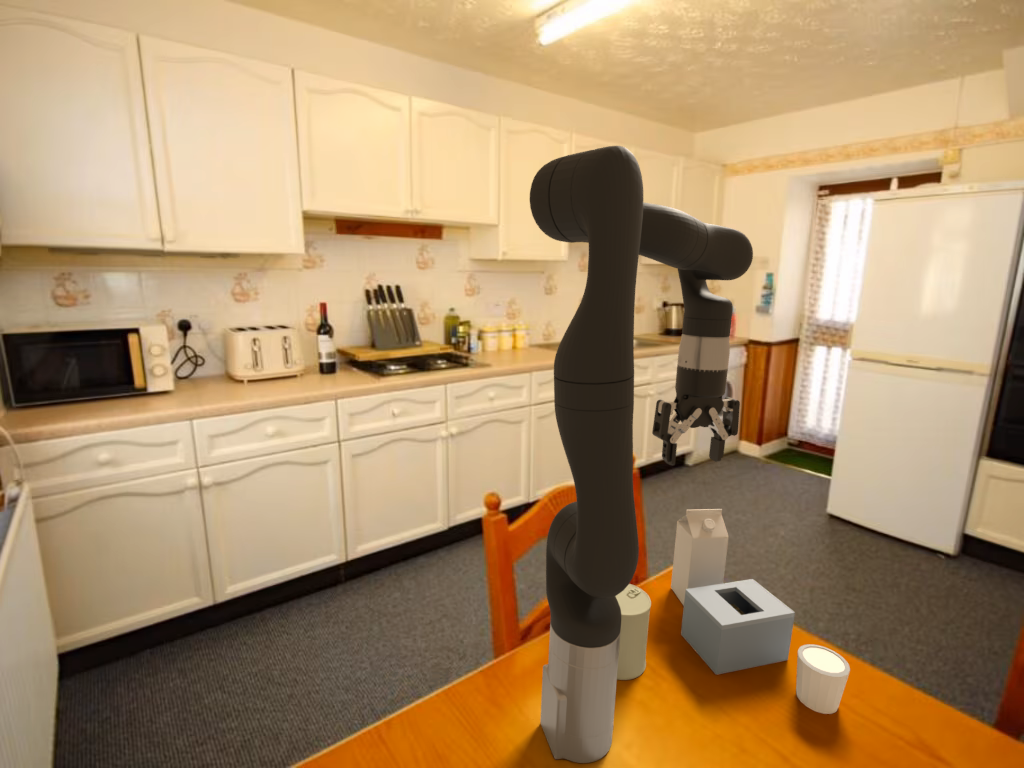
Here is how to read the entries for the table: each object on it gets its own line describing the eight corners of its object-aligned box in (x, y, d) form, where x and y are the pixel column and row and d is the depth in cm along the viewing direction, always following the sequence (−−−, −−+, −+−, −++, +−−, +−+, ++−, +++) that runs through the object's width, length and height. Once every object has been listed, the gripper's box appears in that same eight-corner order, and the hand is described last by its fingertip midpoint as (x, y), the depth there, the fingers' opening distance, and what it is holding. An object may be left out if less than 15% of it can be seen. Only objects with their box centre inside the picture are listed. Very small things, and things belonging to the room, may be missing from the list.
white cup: (850, 721, 77) (858, 679, 75) (799, 712, 78) (806, 671, 76) (832, 686, 83) (839, 647, 82) (785, 678, 84) (791, 640, 83)
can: (657, 665, 87) (664, 600, 84) (617, 689, 81) (623, 620, 79) (616, 633, 94) (621, 573, 91) (578, 653, 89) (581, 589, 86)
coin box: (716, 674, 85) (722, 625, 83) (680, 634, 94) (685, 589, 92) (787, 660, 89) (795, 612, 87) (746, 622, 98) (752, 578, 96)
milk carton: (670, 588, 108) (679, 502, 104) (703, 586, 109) (713, 501, 105) (685, 609, 101) (695, 518, 97) (720, 608, 102) (731, 517, 98)
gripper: (676, 369, 77) (666, 473, 81) (757, 367, 81) (745, 466, 84) (649, 360, 84) (641, 457, 88) (725, 359, 88) (715, 451, 91)
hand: (692, 461), depth 86 cm, fingers open, 8 cm apart
